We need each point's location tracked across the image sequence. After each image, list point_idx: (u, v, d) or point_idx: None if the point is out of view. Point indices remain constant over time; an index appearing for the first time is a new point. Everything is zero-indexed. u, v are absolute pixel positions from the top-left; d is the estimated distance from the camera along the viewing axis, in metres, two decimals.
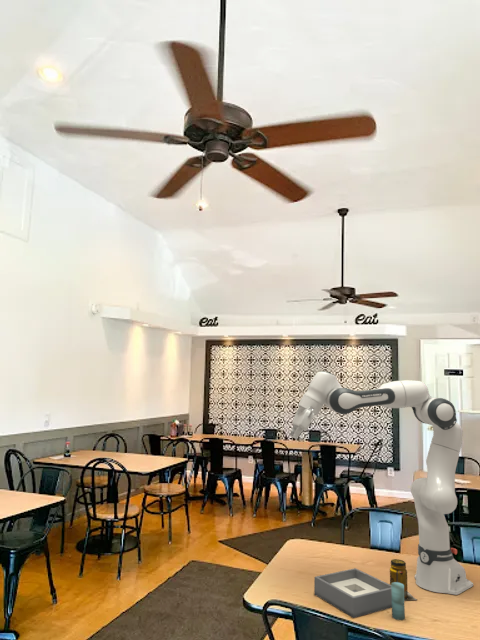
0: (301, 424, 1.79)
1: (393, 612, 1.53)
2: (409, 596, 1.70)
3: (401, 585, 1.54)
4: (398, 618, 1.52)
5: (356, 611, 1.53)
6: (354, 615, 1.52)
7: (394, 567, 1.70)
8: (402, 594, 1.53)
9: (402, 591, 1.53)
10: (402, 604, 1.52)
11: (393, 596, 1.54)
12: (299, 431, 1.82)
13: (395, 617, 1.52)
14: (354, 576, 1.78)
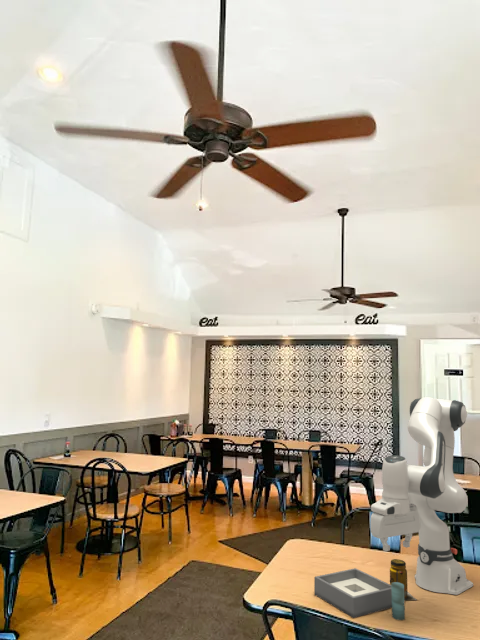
0: None
1: (393, 612, 1.53)
2: (409, 596, 1.70)
3: (401, 585, 1.54)
4: (398, 618, 1.52)
5: (356, 611, 1.53)
6: (354, 615, 1.52)
7: (394, 567, 1.70)
8: (402, 594, 1.53)
9: (402, 591, 1.53)
10: (402, 604, 1.52)
11: (393, 596, 1.54)
12: None
13: (395, 617, 1.52)
14: (354, 576, 1.78)
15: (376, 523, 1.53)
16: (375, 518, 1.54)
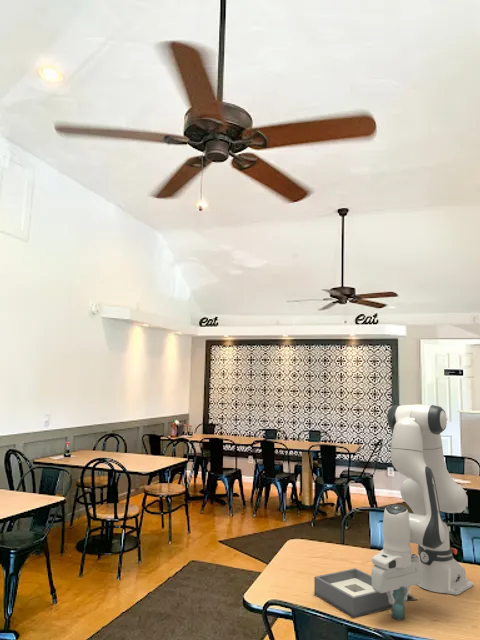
0: None
1: (393, 612, 1.53)
2: (409, 596, 1.70)
3: None
4: (398, 618, 1.52)
5: (356, 611, 1.53)
6: (354, 615, 1.52)
7: None
8: (402, 594, 1.53)
9: (402, 591, 1.53)
10: (402, 604, 1.52)
11: (393, 596, 1.54)
12: None
13: (395, 617, 1.52)
14: (354, 576, 1.78)
15: (377, 577, 1.50)
16: (376, 572, 1.51)
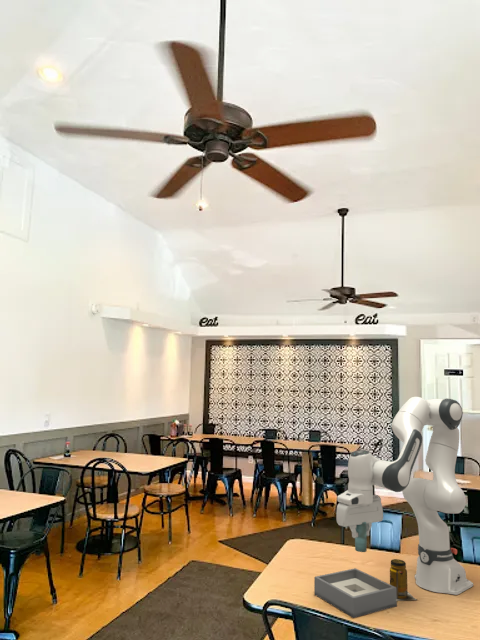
0: None
1: (356, 545, 1.68)
2: (409, 596, 1.70)
3: None
4: (360, 550, 1.66)
5: (356, 611, 1.53)
6: (354, 615, 1.52)
7: (394, 567, 1.70)
8: (364, 529, 1.68)
9: (364, 526, 1.68)
10: (364, 538, 1.67)
11: (356, 531, 1.68)
12: None
13: (358, 549, 1.67)
14: (354, 576, 1.78)
15: (341, 513, 1.65)
16: (340, 508, 1.66)
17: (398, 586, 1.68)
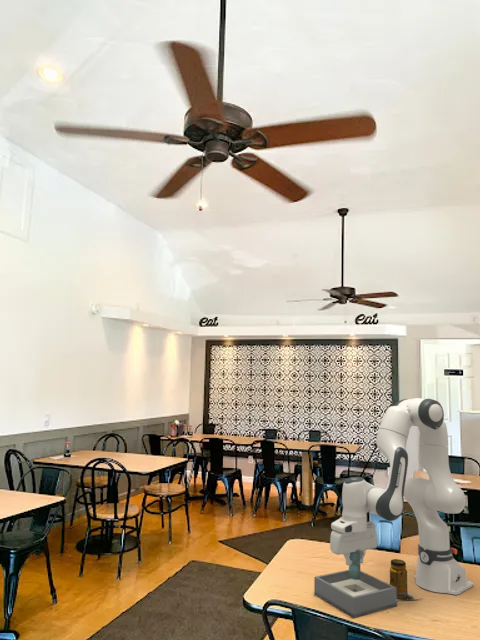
0: None
1: (350, 573, 1.68)
2: (409, 596, 1.70)
3: None
4: (354, 578, 1.67)
5: (356, 611, 1.53)
6: (354, 615, 1.52)
7: (394, 567, 1.70)
8: (358, 556, 1.68)
9: (358, 553, 1.69)
10: (358, 565, 1.68)
11: (350, 558, 1.69)
12: None
13: (351, 577, 1.68)
14: None
15: (335, 541, 1.66)
16: (334, 536, 1.67)
17: (398, 586, 1.68)
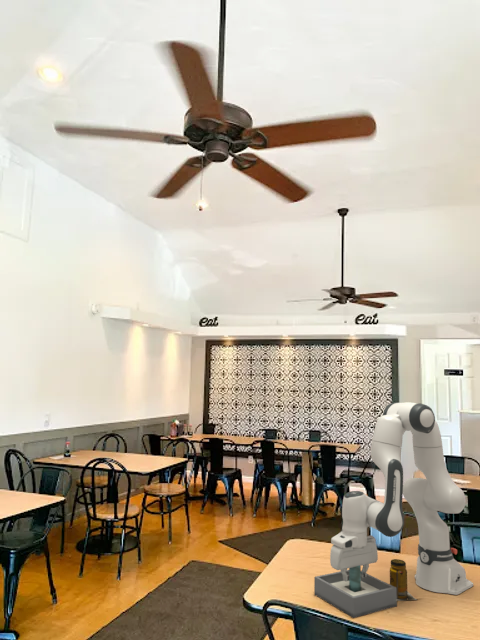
0: None
1: (350, 589, 1.68)
2: (409, 596, 1.70)
3: None
4: None
5: (356, 611, 1.53)
6: (354, 615, 1.52)
7: (394, 567, 1.70)
8: (358, 573, 1.68)
9: (358, 570, 1.68)
10: (358, 582, 1.67)
11: (350, 575, 1.68)
12: None
13: None
14: None
15: (335, 556, 1.65)
16: (334, 551, 1.66)
17: (398, 586, 1.68)
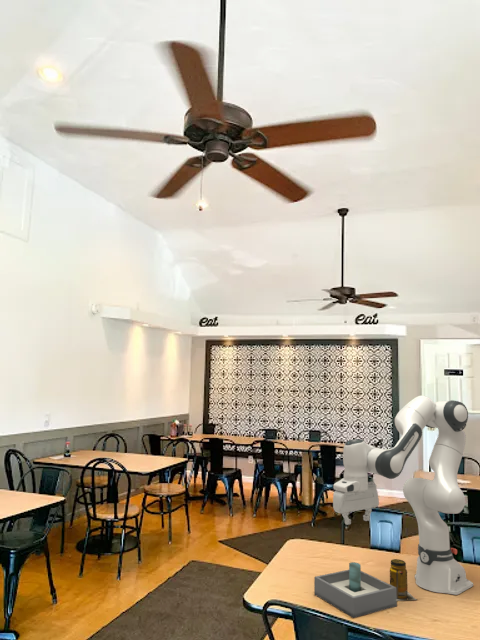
0: None
1: (350, 589, 1.68)
2: (409, 596, 1.70)
3: (358, 565, 1.69)
4: None
5: (356, 611, 1.53)
6: (354, 615, 1.52)
7: (394, 567, 1.70)
8: (358, 573, 1.68)
9: (358, 570, 1.68)
10: (358, 582, 1.67)
11: (350, 575, 1.68)
12: None
13: None
14: None
15: (337, 500, 1.70)
16: (337, 495, 1.71)
17: (398, 586, 1.68)
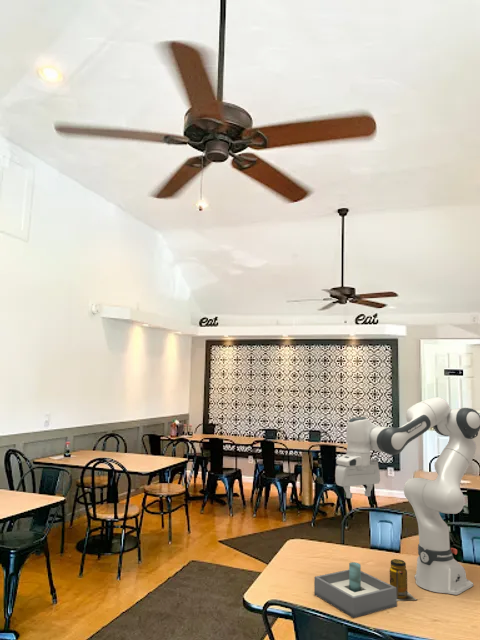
0: None
1: (350, 589, 1.68)
2: (409, 596, 1.70)
3: (358, 565, 1.69)
4: None
5: (356, 611, 1.53)
6: (354, 615, 1.52)
7: (394, 567, 1.70)
8: (358, 573, 1.68)
9: (358, 570, 1.68)
10: (358, 582, 1.67)
11: (350, 575, 1.68)
12: None
13: None
14: None
15: (340, 473, 1.76)
16: (339, 469, 1.77)
17: (398, 586, 1.68)
